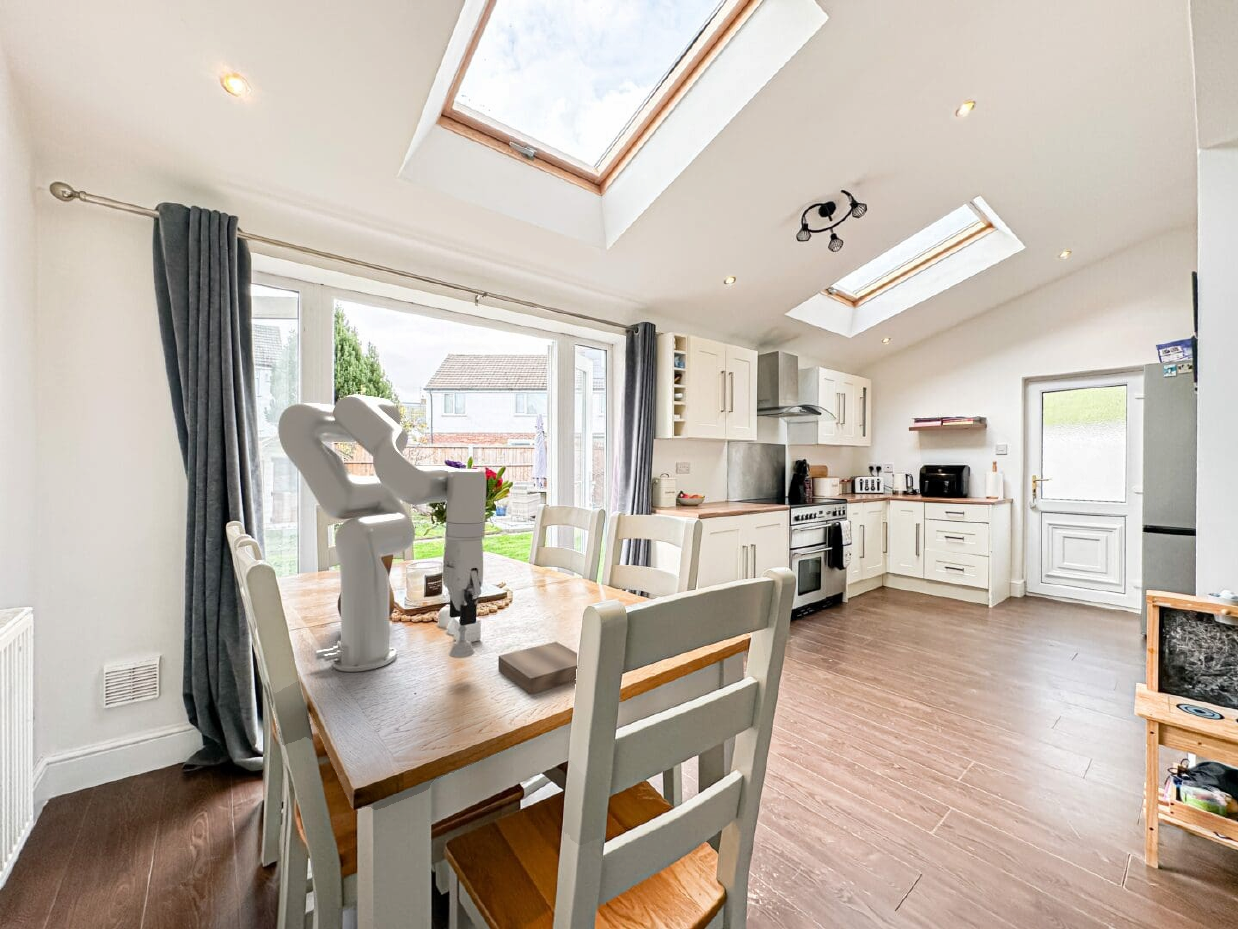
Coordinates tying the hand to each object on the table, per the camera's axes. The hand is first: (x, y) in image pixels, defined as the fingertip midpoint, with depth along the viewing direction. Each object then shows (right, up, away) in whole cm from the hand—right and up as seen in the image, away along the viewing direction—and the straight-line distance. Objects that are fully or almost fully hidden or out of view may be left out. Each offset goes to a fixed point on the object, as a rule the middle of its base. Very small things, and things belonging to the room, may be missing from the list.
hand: (462, 619), depth 105 cm
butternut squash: (-34, -12, +30) cm, 47 cm away
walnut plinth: (+16, -12, +3) cm, 20 cm away
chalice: (0, -7, 0) cm, 7 cm away
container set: (-10, -12, +28) cm, 32 cm away
